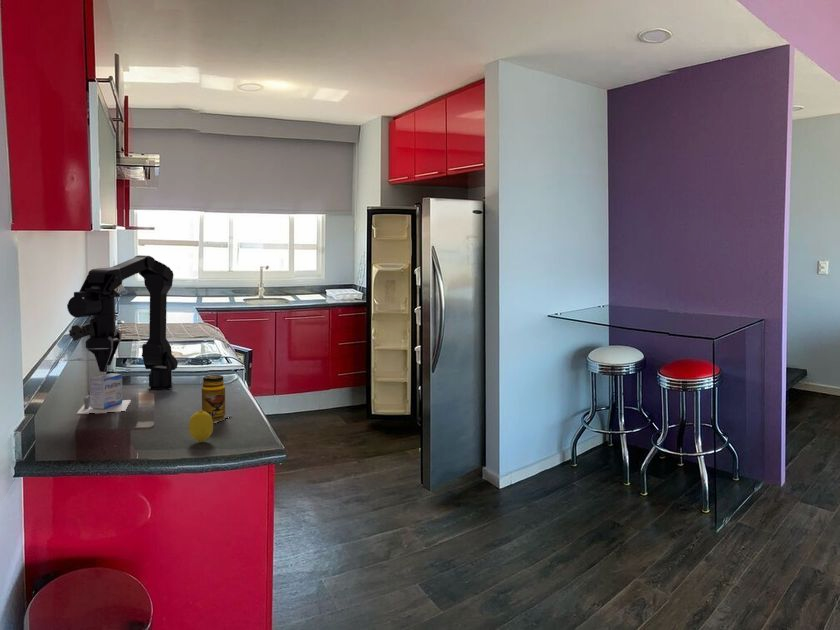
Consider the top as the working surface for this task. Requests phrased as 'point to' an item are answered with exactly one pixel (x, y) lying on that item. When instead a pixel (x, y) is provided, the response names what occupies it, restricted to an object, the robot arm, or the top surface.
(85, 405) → the board
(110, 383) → the medicine box
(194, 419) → the lemon
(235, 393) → the top surface
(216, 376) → the condiment
